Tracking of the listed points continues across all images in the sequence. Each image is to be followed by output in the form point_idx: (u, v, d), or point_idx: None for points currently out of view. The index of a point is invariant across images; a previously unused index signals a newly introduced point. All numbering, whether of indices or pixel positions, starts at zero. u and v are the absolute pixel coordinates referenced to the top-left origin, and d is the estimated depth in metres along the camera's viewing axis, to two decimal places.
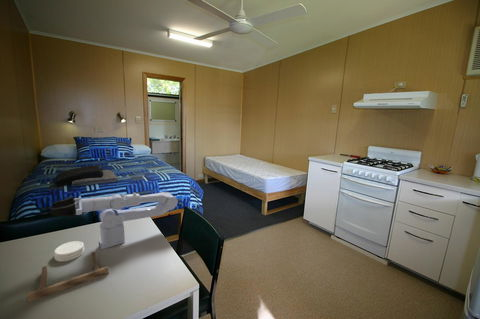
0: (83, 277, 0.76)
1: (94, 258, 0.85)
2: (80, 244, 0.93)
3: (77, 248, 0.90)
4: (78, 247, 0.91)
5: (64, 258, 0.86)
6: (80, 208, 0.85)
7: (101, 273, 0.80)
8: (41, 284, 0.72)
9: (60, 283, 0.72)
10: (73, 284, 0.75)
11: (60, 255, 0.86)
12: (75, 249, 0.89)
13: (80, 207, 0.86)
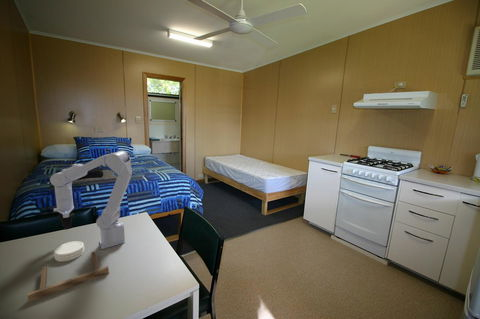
0: (83, 277, 0.76)
1: (94, 258, 0.85)
2: (80, 244, 0.93)
3: (77, 248, 0.90)
4: (78, 247, 0.91)
5: (64, 258, 0.86)
6: (62, 214, 0.90)
7: (101, 273, 0.80)
8: (41, 284, 0.72)
9: (60, 283, 0.72)
10: (73, 284, 0.75)
11: (60, 255, 0.86)
12: (75, 249, 0.89)
13: (62, 213, 0.90)
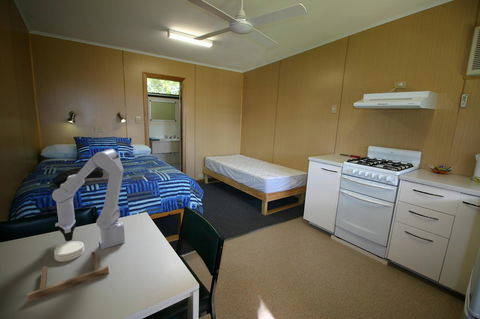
0: (83, 277, 0.76)
1: (94, 258, 0.85)
2: (80, 244, 0.93)
3: (77, 248, 0.90)
4: (78, 247, 0.91)
5: (64, 258, 0.86)
6: (64, 229, 0.91)
7: (101, 273, 0.80)
8: (41, 284, 0.72)
9: (60, 283, 0.72)
10: (73, 284, 0.75)
11: (60, 255, 0.86)
12: (75, 249, 0.89)
13: (63, 228, 0.92)
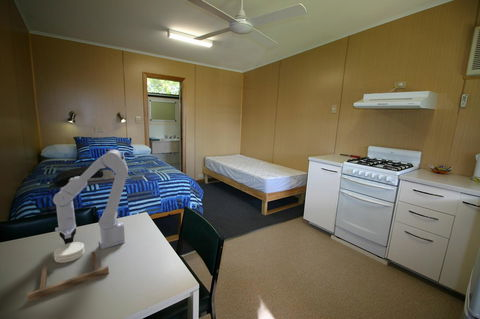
0: (83, 277, 0.76)
1: (94, 258, 0.85)
2: (80, 245, 0.92)
3: (77, 249, 0.89)
4: (78, 248, 0.90)
5: (64, 259, 0.85)
6: (64, 234, 0.87)
7: (101, 273, 0.80)
8: (41, 284, 0.72)
9: (60, 283, 0.72)
10: (73, 284, 0.75)
11: (60, 256, 0.85)
12: (75, 250, 0.88)
13: (63, 233, 0.88)
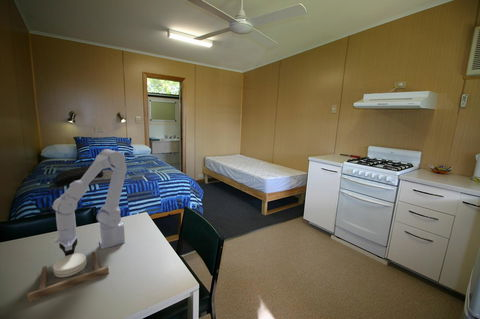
0: (83, 277, 0.76)
1: (94, 258, 0.85)
2: (82, 257, 0.84)
3: (78, 262, 0.82)
4: (80, 261, 0.82)
5: (64, 274, 0.78)
6: (64, 246, 0.80)
7: (101, 273, 0.80)
8: (41, 284, 0.72)
9: (60, 283, 0.72)
10: (73, 284, 0.75)
11: (60, 271, 0.77)
12: (76, 263, 0.81)
13: (64, 245, 0.80)
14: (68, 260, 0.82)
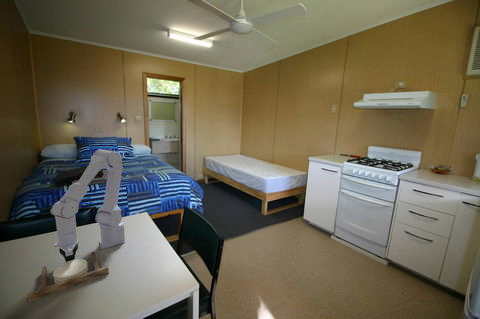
0: (83, 277, 0.76)
1: (94, 258, 0.85)
2: (83, 263, 0.81)
3: (80, 268, 0.79)
4: (81, 267, 0.79)
5: None
6: (65, 251, 0.77)
7: (101, 273, 0.80)
8: (41, 284, 0.72)
9: (60, 283, 0.72)
10: (73, 284, 0.75)
11: (60, 278, 0.74)
12: (77, 270, 0.78)
13: (64, 250, 0.77)
14: (69, 266, 0.80)
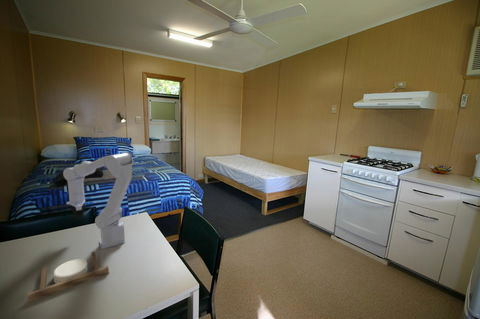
0: (83, 277, 0.76)
1: (94, 258, 0.85)
2: (83, 263, 0.81)
3: (80, 268, 0.79)
4: (81, 267, 0.79)
5: None
6: (75, 206, 0.95)
7: (101, 273, 0.80)
8: (41, 284, 0.72)
9: (60, 283, 0.72)
10: (73, 284, 0.75)
11: (60, 278, 0.74)
12: (77, 270, 0.78)
13: (74, 206, 0.95)
14: (69, 266, 0.80)
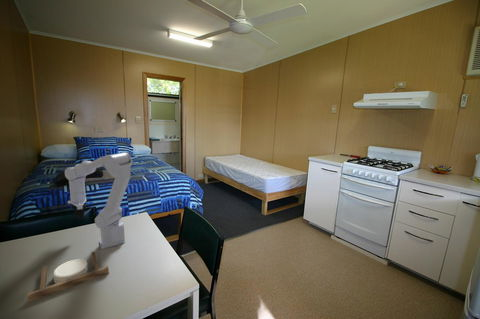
0: (83, 277, 0.76)
1: (94, 258, 0.85)
2: (83, 263, 0.81)
3: (80, 268, 0.79)
4: (81, 267, 0.79)
5: None
6: (76, 206, 0.96)
7: (101, 273, 0.80)
8: (41, 284, 0.72)
9: (60, 283, 0.72)
10: (73, 284, 0.75)
11: (60, 278, 0.74)
12: (77, 270, 0.78)
13: (76, 205, 0.96)
14: (69, 266, 0.80)
